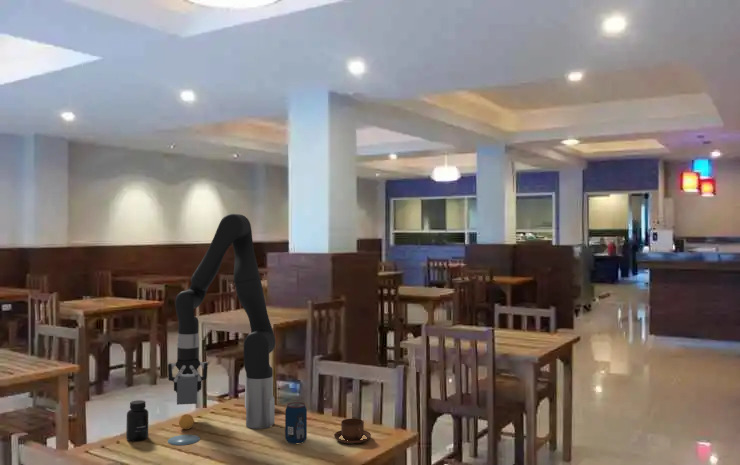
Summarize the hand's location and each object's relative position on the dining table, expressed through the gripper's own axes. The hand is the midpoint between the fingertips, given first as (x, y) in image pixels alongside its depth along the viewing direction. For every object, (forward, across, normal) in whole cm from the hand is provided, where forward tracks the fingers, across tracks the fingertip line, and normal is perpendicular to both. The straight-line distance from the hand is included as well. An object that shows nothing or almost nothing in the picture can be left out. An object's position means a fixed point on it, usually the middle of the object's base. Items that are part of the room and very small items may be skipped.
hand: (187, 391), depth 233 cm
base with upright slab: (+11, -25, -13) cm, 30 cm away
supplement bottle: (+11, +15, +17) cm, 25 cm away
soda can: (+10, -36, +31) cm, 48 cm away
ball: (+8, 0, +10) cm, 13 cm away
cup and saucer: (+10, -54, +33) cm, 64 cm away
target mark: (+10, 0, +22) cm, 24 cm away
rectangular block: (+3, 0, 0) cm, 3 cm away
